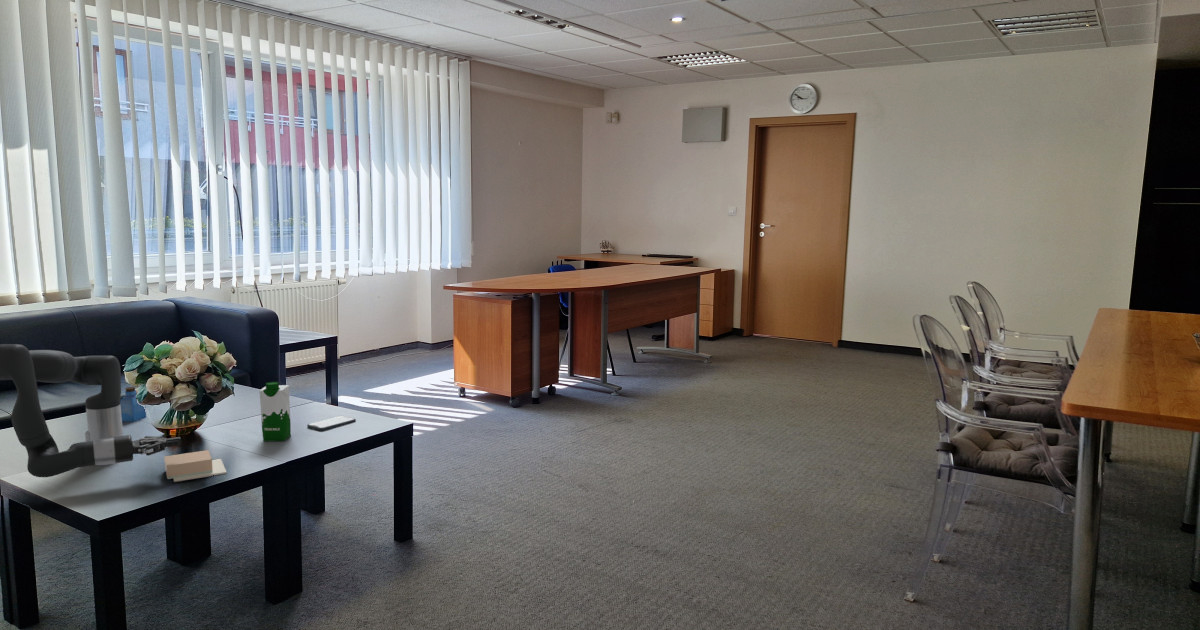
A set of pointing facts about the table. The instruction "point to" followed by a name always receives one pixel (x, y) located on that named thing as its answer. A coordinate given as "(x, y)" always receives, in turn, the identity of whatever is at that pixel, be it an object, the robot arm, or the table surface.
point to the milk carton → (275, 412)
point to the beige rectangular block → (188, 464)
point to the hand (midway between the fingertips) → (181, 440)
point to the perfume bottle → (131, 406)
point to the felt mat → (217, 470)
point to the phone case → (331, 423)
